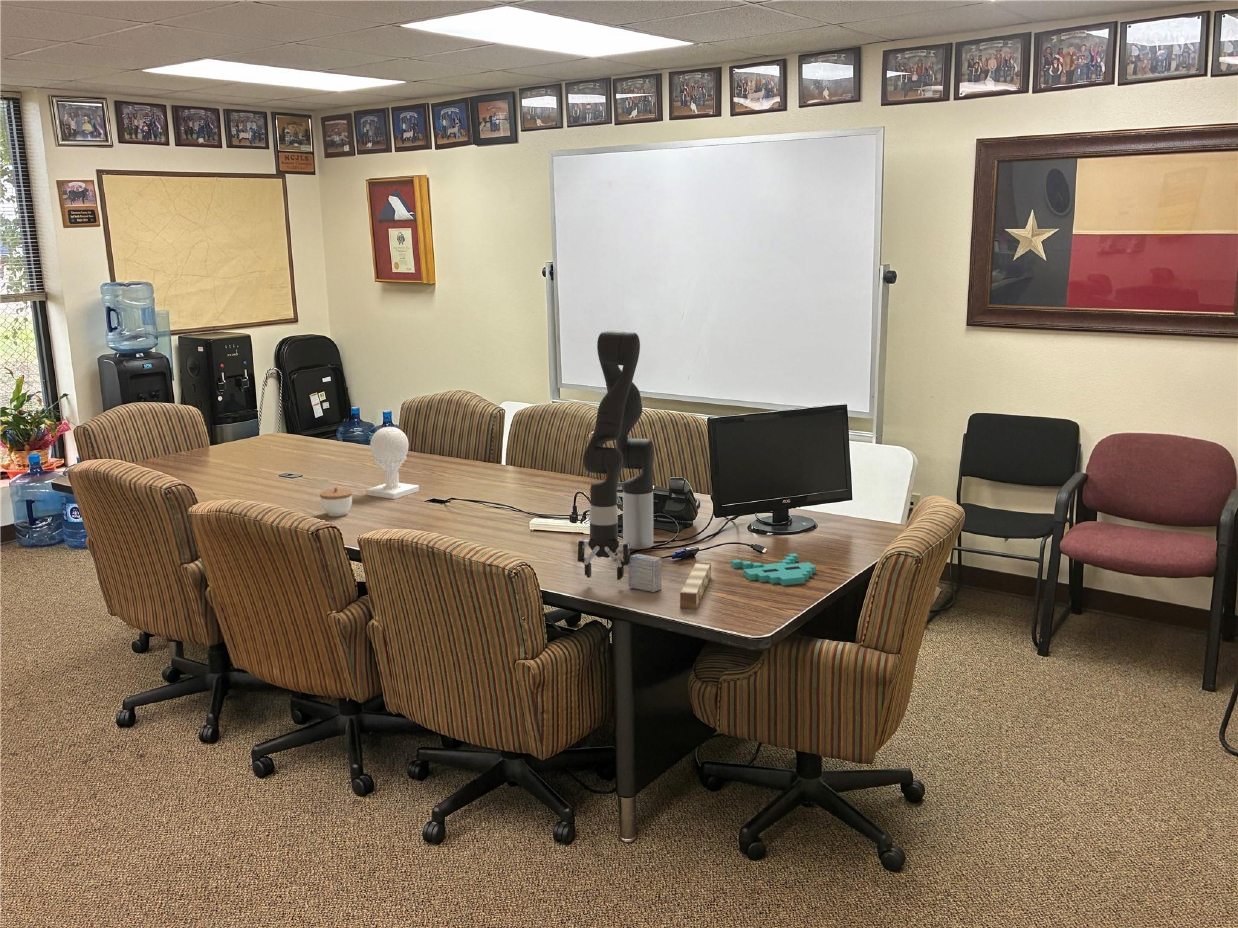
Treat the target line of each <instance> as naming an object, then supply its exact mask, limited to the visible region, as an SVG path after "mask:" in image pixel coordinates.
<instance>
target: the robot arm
mask: <svg viewBox="0 0 1238 928" xmlns="http://www.w3.org/2000/svg"><path fill="white" fill-rule="evenodd" d="M596 344H597V345H596V347H597V349H596V350H597V356H598V360H599V364H600V367H601V370H602V374H603V378H604V381H605V386H606V394H605V395H604V397H603V398H602V400H601V401H600V403H599V405H598V408H597V413H596V420H595V425H594V430H593V433H592V435H591V438H590V440H589V442H588V444H587V446H586V449H585V451H584V454H583V458H582V464H583V467H584V469H585V470H586V472H588V473H591V474H601V475H607V477H606V479H605V480H598V481H595V482H592V483H591V485H590V489H589V491H590V508H589V540H588V539H584V538H581V539H580V540H579V541H578V542H577V559H576V560H577V562H578V563H583V565H584V575H585V576H586V578H589V579H591V577H592V563H591V561H592V559H594V558H595V557H597V558H605V559H609V558H611V560H612V561H613V562H614V563H615V564H616V566H617V567H616V579H617V581H620V580H621V579H622V578H623V577H624V575H625V571H624V569H625V568H624V567H625V566H629V557H631V550H645V549H650V548H652V547H653V546H654V463H655V462H654V461H655V445H654V442H653V440H652V439H650V438H632V437H631V438H630V437H629V434H630V433H631V430H632V429H633V428H634V426H636V424H637V423H638V421H639V420H640V419H641V417H642V413H643V403H642V397H641V392H640V389H639V388H638V387H637V385H636V384H635V383H634V382H633V379H634V376H635V373H636V369H637V365H638V363H639V361H638V360H639V358H640V351H641V341H640V336H639V335H638V334H637V332H635V331H634V332H633V331H626V330H625V331H623V330H604V331H603V330H602V331H601V332H600V333H599V335H598V338H597V343H596ZM620 366H622V370H621V368H620ZM612 441H615V447H605V446H604V445H605V444H607V443H608V442H612ZM622 469H625V470H641V473H640V474H639V475H636V476H634V477H631V478H628V479H626V480H624V481H623V483H622V531H623V532H622V535H623V536H622V537H623V539H622V541H623V542H620V541H619V537H618V536H619V535H618V533H619V530H618V529H619V528H618V526H619V522H618V520H619V517H618V516H619V513H618V503H617V496H618V495H617V494H618V492H617V490H618V484H619V480H620V476H621V475H620V474H621V472H622ZM587 546H588V547H589V548H590V550H591V552H590V553H589V554H588V556H587V557H585V551H586V550H585V549H586V548H587ZM619 548H620V550H621V551H622V552H623V558H622V556H621V555H620V553H619V551H618V549H619Z"/></svg>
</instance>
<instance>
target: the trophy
mask: <svg viewBox="0 0 1238 928" xmlns="http://www.w3.org/2000/svg"><path fill="white" fill-rule="evenodd" d="M369 445H370V451H371V454H372V456H373V458H374V461H375V463H376V464H378V465H379V467H380V468H382V469H383V470H384V482H385V483H383V484H379V485H376V486H374V487H370V488H367V489H365V494H366V496H371V497H378V498H385V499H391V500H396V499H399V498H402V497H405V496H408V495H411V494H414V493H417V492H419V491H420V485H418V484H417V485H416V484H409V483H401V482H400V480H399V479H400V478H399V469H400V467H402V465H403V464H404V462H405V461H406V460H407V459H408V457H407V454H408V451H409V447H410V446H409V445H410V443H409V439H408V437H407V435H406V434H405V432H403V430H401V429H399V428H397V427H394V426H384V427H381V428H379V429H378V430H377V431H375V433H374V434H373V435H372V436H371V439H370V444H369Z"/></svg>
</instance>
